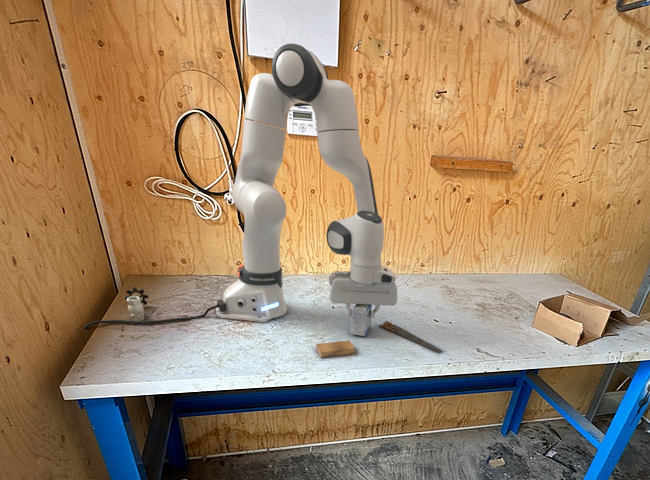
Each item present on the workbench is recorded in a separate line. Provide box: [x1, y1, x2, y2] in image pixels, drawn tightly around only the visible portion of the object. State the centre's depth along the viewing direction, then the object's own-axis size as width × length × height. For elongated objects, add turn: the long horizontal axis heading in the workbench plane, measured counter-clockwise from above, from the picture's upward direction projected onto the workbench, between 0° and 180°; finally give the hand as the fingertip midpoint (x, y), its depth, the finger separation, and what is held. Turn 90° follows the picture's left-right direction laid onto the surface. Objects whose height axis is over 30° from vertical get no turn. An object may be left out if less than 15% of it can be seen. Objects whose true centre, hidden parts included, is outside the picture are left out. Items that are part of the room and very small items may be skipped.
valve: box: [124, 286, 149, 321], centre depth 132 cm, size 7×7×12 cm
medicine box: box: [350, 304, 373, 337], centre depth 133 cm, size 8×4×9 cm, turn 168°
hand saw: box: [378, 320, 443, 353], centre depth 135 cm, size 24×5×1 cm, turn 48°
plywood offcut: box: [315, 340, 356, 359], centre depth 123 cm, size 10×5×2 cm, turn 112°
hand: (361, 316), depth 133 cm, fingers closed on medicine box, 5 cm apart
